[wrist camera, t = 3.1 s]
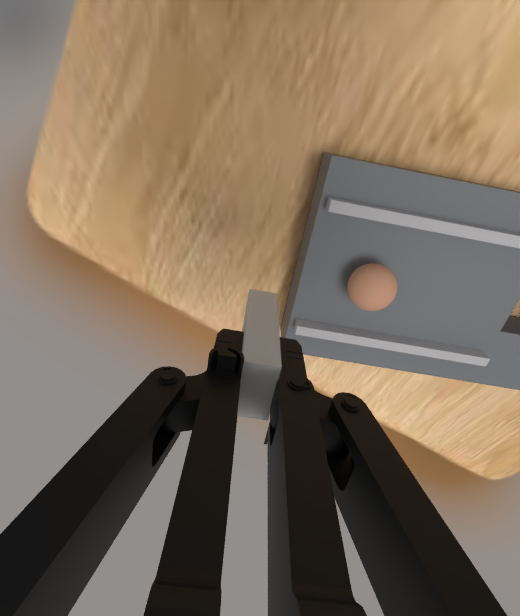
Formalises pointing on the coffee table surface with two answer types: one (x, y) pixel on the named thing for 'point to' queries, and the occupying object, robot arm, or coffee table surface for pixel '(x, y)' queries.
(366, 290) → the ball
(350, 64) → the coffee table surface
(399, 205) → the plate
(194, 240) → the coffee table surface
